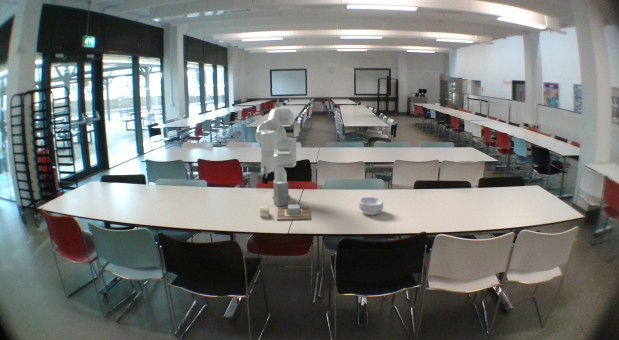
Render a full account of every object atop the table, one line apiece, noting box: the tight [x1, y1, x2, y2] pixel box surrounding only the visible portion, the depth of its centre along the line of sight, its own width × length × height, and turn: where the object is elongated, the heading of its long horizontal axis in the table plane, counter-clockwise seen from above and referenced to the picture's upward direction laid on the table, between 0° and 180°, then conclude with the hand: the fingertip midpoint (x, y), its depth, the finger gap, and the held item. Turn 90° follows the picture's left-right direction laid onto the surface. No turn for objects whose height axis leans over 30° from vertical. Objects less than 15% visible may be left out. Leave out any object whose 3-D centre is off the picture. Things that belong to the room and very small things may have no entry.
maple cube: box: [259, 206, 270, 218], centre depth 217 cm, size 5×5×5 cm
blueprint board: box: [276, 204, 311, 222], centre depth 219 cm, size 20×20×5 cm
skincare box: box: [273, 181, 290, 208], centre depth 235 cm, size 8×7×16 cm
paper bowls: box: [358, 196, 384, 216], centre depth 220 cm, size 15×15×8 cm
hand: (268, 181), depth 208 cm, fingers open, 9 cm apart
